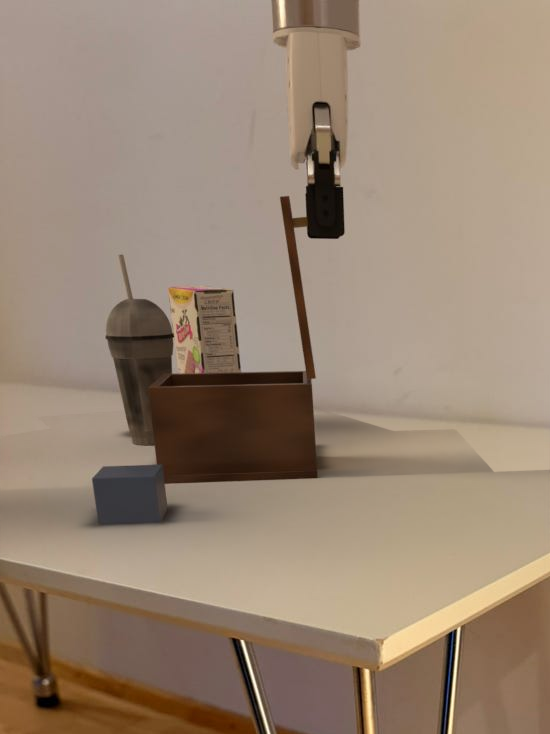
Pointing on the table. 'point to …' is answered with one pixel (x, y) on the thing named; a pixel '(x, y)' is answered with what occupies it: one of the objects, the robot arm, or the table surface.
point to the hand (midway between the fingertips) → (325, 237)
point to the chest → (233, 426)
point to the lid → (298, 281)
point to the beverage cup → (139, 356)
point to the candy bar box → (204, 329)
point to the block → (130, 494)
